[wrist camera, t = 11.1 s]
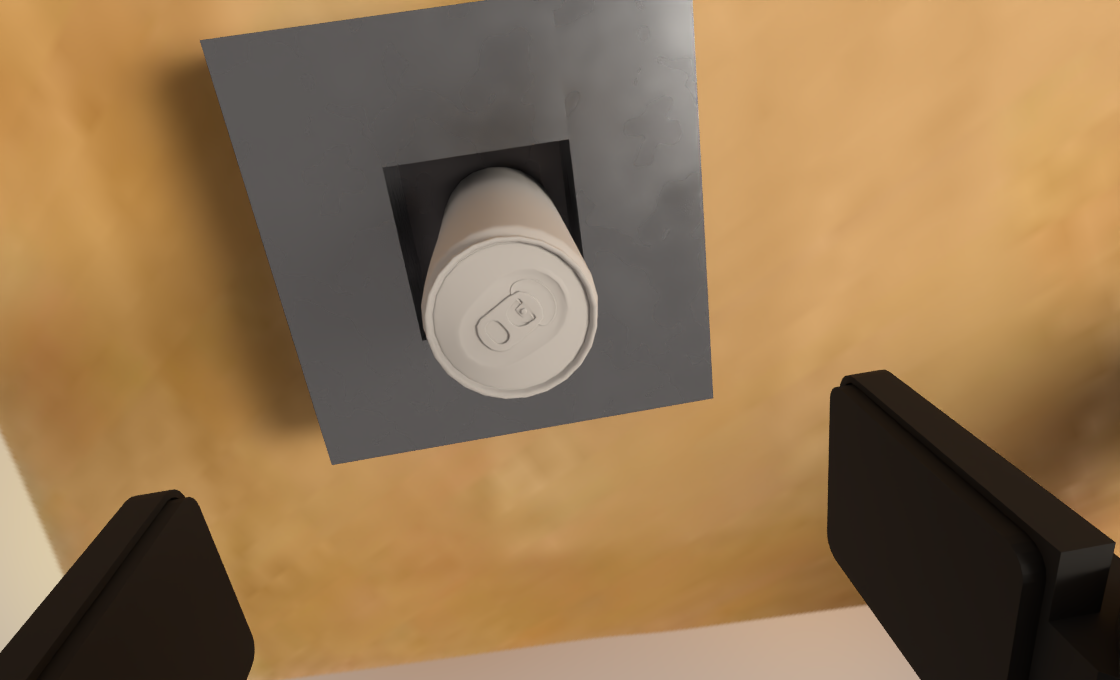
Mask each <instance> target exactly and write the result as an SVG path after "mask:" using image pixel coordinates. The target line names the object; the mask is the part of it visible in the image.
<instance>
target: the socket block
mask: <svg viewBox="0 0 1120 680" xmlns="http://www.w3.org/2000/svg"><path fill="white" fill-rule="evenodd" d="M200 43H201V46H202V49H203V52H204V56H205V59H206V62H207V65H208V68H209V72H210V75H211V78H212V81H213V84H214V88H215V91H216V94H217V97H218V101H219V104H220V107H221V110H222V113H223V117H224V120H225V123H226V126H227V129H228V133H229V136H230V139H231V142H232V145H233V149H234V152H235V155H236V158H237V162H238V165H239V168H240V171H241V174H242V178H243V181H244V184H245V187H246V190H247V194H248V197H249V200H250V203H251V207H252V210H253V213H254V216H255V219H256V223H257V226H258V229H259V232H260V235H261V239H262V242H263V245H264V248H265V251H266V255H267V258H268V261H269V264H270V268H271V271H272V274H273V277H274V280H275V284H276V287H277V290H278V293H279V296H280V300H281V303H282V306H283V309H284V313H285V316H286V319H287V322H288V325H289V329H290V332H291V335H292V338H293V341H294V345H295V348H296V351H297V354H298V357H299V361H300V364H301V367H302V370H303V374H304V377H305V380H306V383H307V386H308V390H309V393H310V396H311V399H312V402H313V406H314V409H315V412H316V415H317V419H318V422H319V425H320V428H321V431H322V435H323V438H324V441H325V444H326V447H327V451H328V454H329V457H330V460H331V463H332V465H335V464H340V463H346V462H352V461H358V460H363V459H369V458H375V457H380V456H386V455H392V454H398V453H403V452H409V451H415V450H420V449H426V448H432V447H438V446H443V445H449V444H455V443H460V442H466V441H472V440H477V439H483V438H489V437H495V436H500V435H506V434H512V433H517V432H523V431H529V430H535V429H540V428H546V427H552V426H557V425H563V424H569V423H575V422H580V421H586V420H592V419H597V418H603V417H609V416H614V415H620V414H626V413H632V412H637V411H643V410H649V409H654V408H660V407H666V406H672V405H677V404H683V403H689V402H694V401H700V400H706V399H711V398H713V386H712V366H711V347H710V328H709V309H708V289H707V270H706V251H705V232H704V212H703V193H702V174H701V155H700V135H699V116H698V97H697V78H696V58H695V39H694V20H693V1H692V0H484V1H477V2H470V3H463V4H456V5H449V6H442V7H434V8H427V9H420V10H413V11H406V12H399V13H392V14H385V15H377V16H370V17H363V18H356V19H349V20H342V21H335V22H327V23H320V24H313V25H306V26H299V27H292V28H285V29H277V30H270V31H263V32H256V33H249V34H242V35H235V36H228V37H220V38H213V39H206V40H200ZM489 167H507V168H511V169H516V170H520V171H522V172H523V173H525V174H527V175H529V176H531V177H533V178H534V179H535V180H536V181H537V182H538V183H539V184H540V185H542V186H543V187H544V188H545V190H546V192H547V193H548V195H549V196H550V198H551V200H552V201H553V203H554V205H555V207H556V209H557V211H558V213H559V214H560V216H561V218H562V220H563V222H564V224H565V226H566V227H567V229H568V231H569V233H570V235H571V237H572V239H573V241H574V242H575V244H576V246H577V248H578V250H579V252H580V254H581V256H582V257H583V259H584V261H585V263H586V265H587V267H588V269H589V271H590V272H591V275H592V278H593V282H594V285H595V289H596V292H597V295H598V318H597V329H596V333H595V336H594V340H593V344H592V347H591V349H590V350H589V352H588V354H587V355H586V357H585V359H584V361H583V362H582V364H581V365H580V366H579V367H578V368H577V369H576V370H575V371H574V372H573V373H572V374H571V375H570V376H569V377H568V378H567V379H566V380H565V381H563V382H562V383H560V384H558V385H557V386H555V387H553V388H552V389H550V390H548V391H546V392H542V393H539V394H536V395H533V396H530V397H525V398H511V399H503V398H497V397H491V396H485V395H482V394H480V393H477V392H475V391H473V390H470V389H468V388H466V387H464V386H463V385H461V384H460V383H459V382H457V381H456V380H455V379H453V378H452V377H451V376H449V375H448V374H447V373H446V371H445V370H444V369H443V368H442V366H441V365H440V364H439V362H438V361H437V360H436V359H435V357H434V355H433V352H432V350H431V348H430V345H429V343H428V340H427V338H426V334H425V331H424V329H423V320H422V310H421V303H422V297H423V291H424V286H425V281H426V277H427V272H428V269H429V265H430V261H431V258H432V255H433V252H434V249H435V246H436V243H437V240H438V236H439V232H440V228H441V224H442V220H443V215H444V211H445V207H446V205H447V203H448V200H449V198H450V196H451V193H452V192H453V191H454V189H455V188H456V187H457V185H458V184H459V183H460V182H461V181H462V180H463V179H465V178H466V177H468V176H469V175H470V174H472V173H473V172H476V171H479V170H482V169H485V168H489Z"/></svg>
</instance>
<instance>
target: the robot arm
mask: <svg viewBox="0 0 1120 680" xmlns="http://www.w3.org/2000/svg"><path fill="white" fill-rule="evenodd" d="M827 537H828V543H829V546H830V549H831V552H832V554H833V556H834V558H835V560H836V561H837V562H838V564H839V565H840V567H841V568H842V570H843V571H844V572H845V574H846V575H847V577H848V578H849V579H850V581H851V582H852V584H853V585H854V586H855V588H856V589H857V591H858V592H859V593H860V595H861V596H862V598H863V599H864V601H865V602H866V603H867V605H868V606H869V608H870V609H871V610H872V612H873V613H874V614H875V616H876V617H877V619H878V620H879V622H880V623H881V624H882V626H883V627H884V629H885V630H886V631H887V633H888V634H889V636H890V637H891V638H892V640H893V641H894V643H895V644H896V646H897V647H898V648H899V650H900V651H901V652H902V654H903V655H904V657H905V658H906V660H907V661H908V662H909V664H910V665H911V667H912V668H913V669H914V671H915V672H916V674H917V675H918V677H919V678H920V679H921V680H1120V558H1119V557H1118V556H1116V555H1115V554H1114V548H1115V544H1116V542H1114V541H1113V540H1112V539H1110V538H1109V537H1108V536H1106V535H1105V534H1104V533H1102V532H1101V531H1100V530H1098V529H1097V528H1096V527H1094V526H1093V525H1092V524H1090V523H1089V522H1088V521H1086V520H1085V519H1084V518H1082V517H1081V516H1080V515H1079V514H1077V513H1076V512H1075V511H1073V510H1072V509H1071V508H1069V507H1068V506H1067V505H1065V504H1064V503H1063V502H1061V501H1060V500H1059V499H1057V498H1056V497H1055V496H1053V495H1052V494H1051V493H1049V492H1048V491H1047V490H1045V489H1044V488H1043V487H1041V486H1040V485H1039V484H1037V483H1036V482H1035V481H1033V480H1032V479H1031V478H1029V477H1028V476H1027V475H1025V474H1024V473H1023V472H1022V471H1020V470H1019V469H1018V468H1016V467H1015V466H1014V465H1012V464H1011V463H1010V462H1008V461H1007V460H1006V459H1004V458H1003V457H1002V456H1000V455H999V454H998V453H996V452H995V451H994V450H992V449H991V448H990V447H988V446H987V445H986V444H984V443H983V442H982V441H980V440H979V439H978V438H976V437H975V436H974V435H972V434H971V433H970V432H969V431H967V430H966V429H965V428H963V427H962V426H961V425H959V424H958V423H957V422H955V421H954V420H953V419H951V418H950V417H949V416H947V415H946V414H945V413H943V412H942V411H941V410H939V409H938V408H937V407H935V406H934V405H933V404H931V403H930V402H929V401H927V400H926V399H925V398H923V397H922V396H921V395H919V394H918V393H917V392H916V391H914V390H913V389H912V388H910V387H909V386H908V385H906V384H905V383H904V382H902V381H901V380H900V379H898V378H897V377H896V376H894V375H893V374H892V373H890V372H889V371H887V370H877V371H871V372H865V373H860V374H854V375H848V376H845V377H844V378H843V379H842V381H841V384H840V387H835V388H833V389H832V391H831V395H830V425H829V471H828V517H827ZM253 660H254V640H253V637H252V634H251V631H250V629H249V626H248V624H247V622H246V619H245V617H244V614H243V612H242V609H241V607H240V604H239V602H238V600H237V597H236V595H235V592H234V590H233V587H232V585H231V582H230V580H229V578H228V575H227V573H226V570H225V568H224V565H223V563H222V561H221V558H220V556H219V553H218V551H217V548H216V546H215V543H214V541H213V539H212V536H211V534H210V531H209V529H208V526H207V524H206V521H205V519H204V517H203V514H202V512H201V509H200V507H199V505H198V503H197V501H196V500H195V499H194V498H191V497H187V498H185V496H184V495H183V494H182V493H181V492H180V491H178V490H175V489H174V490H168V491H162V492H156V493H150V494H144V495H138V496H134V497H131V498H129V499H128V500H127V501H126V502H125V503H124V504H123V505H122V507H121V508H120V509H119V510H118V511H117V513H116V514H115V515H114V516H113V518H112V519H111V520H110V521H109V522H108V524H107V525H106V526H105V527H104V528H103V530H102V531H101V532H100V533H99V534H98V536H97V537H96V538H95V539H94V540H93V542H92V543H91V544H90V545H89V546H88V548H87V549H86V550H85V551H84V552H83V554H82V555H81V556H80V557H79V559H78V560H77V561H76V562H75V563H74V565H73V566H72V567H71V568H70V569H69V571H68V572H67V573H66V574H65V575H64V577H63V578H62V579H61V580H60V581H59V583H58V584H57V585H56V586H55V587H54V589H53V590H52V591H51V592H50V594H49V595H48V596H47V597H46V598H45V600H44V601H43V602H42V603H41V604H40V606H39V607H38V608H37V609H36V610H35V612H34V613H33V614H32V615H31V616H30V618H29V619H28V620H27V621H26V623H25V624H24V625H23V626H22V627H21V628H20V630H19V631H18V632H17V633H16V635H15V636H14V637H13V638H12V639H11V641H10V642H9V643H8V644H7V645H6V647H5V648H4V649H3V650H2V651H1V653H0V680H247V677H248V675H249V672H250V670H251V667H252V664H253Z"/></svg>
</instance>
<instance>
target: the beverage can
mask: <svg viewBox="0 0 1120 680" xmlns="http://www.w3.org/2000/svg"><path fill="white" fill-rule="evenodd" d="M421 310H422V320H423V329H424V331H425V334H426V338H427V340H428V343H429V345H430V348H431V350H432V352H433V355H434V357H435V359H436V360H437V361H438V362H439V364H440V365H441V366H442V368H443V369H444V370H445V371H446V373H447V374H448V375H449V376H451V377H452V378H453V379H455V380H456V381H457V382H459V383H460V384H461V385H463V386H464V387H466V388H468V389H470V390H473V391H475V392H477V393H480V394H482V395H485V396H491V397H497V398H503V399H511V398H525V397H530V396H533V395H536V394H539V393H542V392H546V391H548V390H550V389H552V388H553V387H555V386H557V385H558V384H560V383H562V382H563V381H565V380H566V379H567V378H568V377H569V376H570V375H571V374H572V373H573V372H574V371H575V370H576V369H577V368H578V367H579V366H580V365H581V364H582V362H583V361H584V359H585V357H586V355H587V354H588V352H589V350H590V349H591V347H592V344H593V340H594V336H595V333H596V329H597V318H598V295H597V292H596V289H595V285H594V282H593V278H592V275H591V272H590V271H589V269H588V267H587V265H586V263H585V261H584V259H583V257H582V256H581V254H580V252H579V250H578V248H577V246H576V244H575V242H574V241H573V239H572V237H571V235H570V233H569V231H568V229H567V227H566V226H565V224H564V222H563V220H562V218H561V216H560V214H559V213H558V211H557V209H556V207H555V205H554V203H553V201H552V200H551V198H550V196H549V195H548V193H547V192H546V190H545V188H544V187H543V186H542V185H540V184H539V183H538V182H537V181H536V180H535V179H534V178H533V177H531V176H529V175H527V174H525V173H523V172H522V171H520V170H516V169H511V168H507V167H489V168H485V169H482V170H479V171H476V172H473V173H472V174H470V175H469V176H468V177H466V178H465V179H463V180H462V181H461V182H460V183H459V184H458V185H457V187H456V188H455V189H454V191H453V192H452V193H451V196H450V198H449V200H448V203H447V205H446V207H445V211H444V215H443V220H442V224H441V228H440V232H439V236H438V240H437V243H436V246H435V249H434V252H433V255H432V258H431V261H430V265H429V269H428V272H427V277H426V281H425V286H424V291H423V297H422V303H421Z"/></svg>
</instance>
